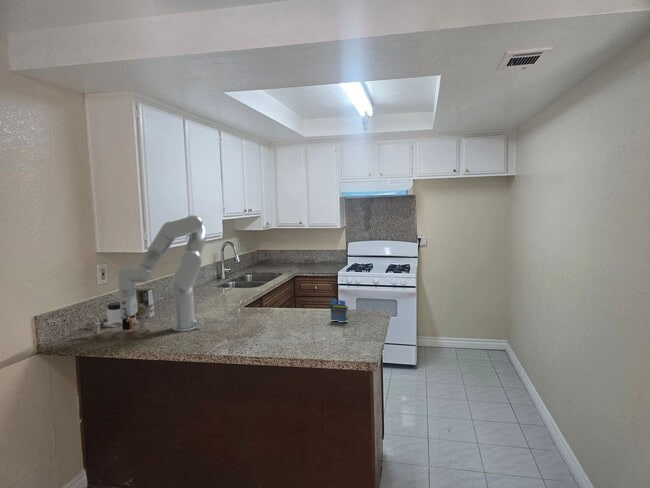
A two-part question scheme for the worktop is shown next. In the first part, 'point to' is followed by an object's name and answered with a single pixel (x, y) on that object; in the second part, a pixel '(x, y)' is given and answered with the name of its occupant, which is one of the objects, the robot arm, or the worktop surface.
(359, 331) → the worktop surface
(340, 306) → the label tape cartridge
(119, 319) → the jar
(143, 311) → the coffee box
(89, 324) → the cube slider rail
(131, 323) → the sleeve
